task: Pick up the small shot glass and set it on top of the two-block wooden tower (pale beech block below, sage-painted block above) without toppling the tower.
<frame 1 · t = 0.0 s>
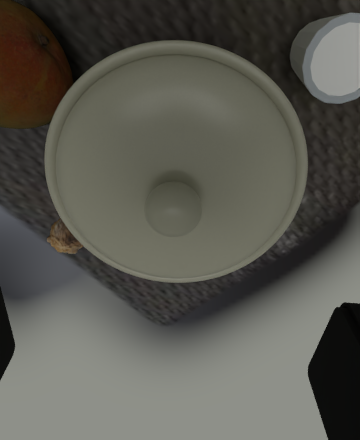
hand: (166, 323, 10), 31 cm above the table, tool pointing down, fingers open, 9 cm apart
shot glass: (317, 51, 34), on the table
fruit: (20, 64, 35), on the table
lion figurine: (121, 212, 45), on the table
canister: (180, 119, 38), on the table
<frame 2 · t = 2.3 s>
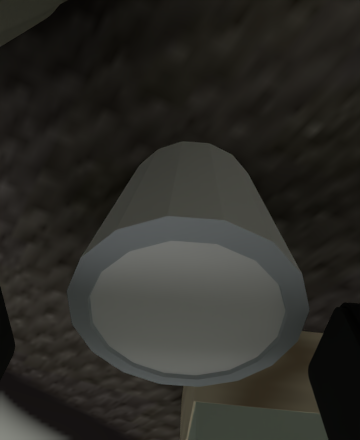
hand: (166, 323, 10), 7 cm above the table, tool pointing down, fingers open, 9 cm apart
shot glass: (190, 198, 16), on the table
tower base: (248, 365, 22), on the table, touching tower top
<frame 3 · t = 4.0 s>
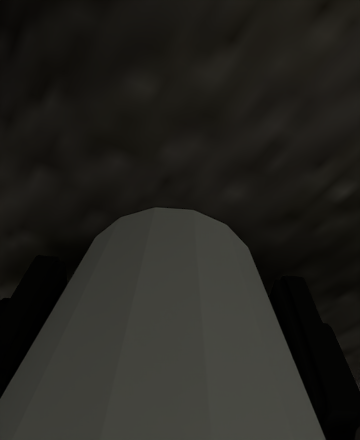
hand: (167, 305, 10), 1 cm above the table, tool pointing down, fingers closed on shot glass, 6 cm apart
shot glass: (169, 276, 11), on the table, touching gripper
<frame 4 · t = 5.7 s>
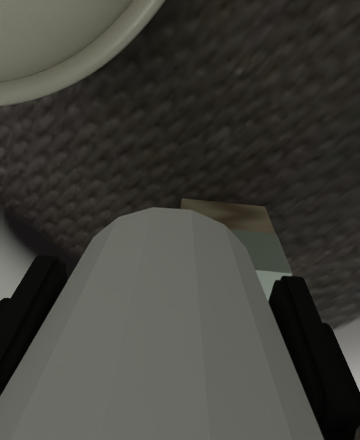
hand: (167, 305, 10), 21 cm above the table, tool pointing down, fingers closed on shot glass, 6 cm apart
shot glass: (167, 276, 12), point 20 cm above the table, touching gripper
tower base: (216, 235, 35), on the table, touching tower top
tower top: (221, 266, 31), point 5 cm above the table, touching tower base
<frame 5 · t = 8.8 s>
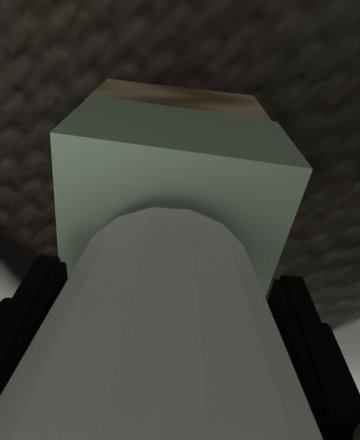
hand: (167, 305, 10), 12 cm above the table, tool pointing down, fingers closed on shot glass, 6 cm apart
shot glass: (166, 276, 12), point 11 cm above the table, touching gripper
tower base: (174, 154, 21), on the table, touching tower top
tower top: (173, 191, 17), point 5 cm above the table, touching tower base
when the fingers open (12 cm above the table, at t = 9.2 s): shot glass drops 1 cm, resting on tower top.
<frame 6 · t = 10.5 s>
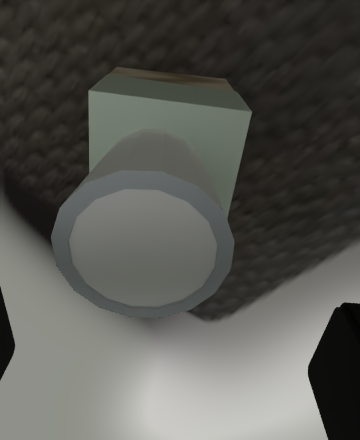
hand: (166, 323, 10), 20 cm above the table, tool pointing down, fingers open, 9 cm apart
shot glass: (154, 177, 19), point 10 cm above the table, touching tower top
tower base: (167, 126, 27), on the table, touching tower top
tower top: (166, 145, 23), point 5 cm above the table, touching shot glass, tower base
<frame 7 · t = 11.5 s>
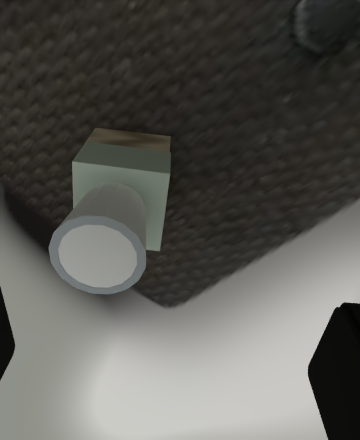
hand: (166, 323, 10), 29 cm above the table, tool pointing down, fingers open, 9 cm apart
shot glass: (114, 210, 30), point 10 cm above the table, touching tower top
tower base: (131, 166, 39), on the table, touching tower top
tower top: (126, 185, 34), point 5 cm above the table, touching shot glass, tower base
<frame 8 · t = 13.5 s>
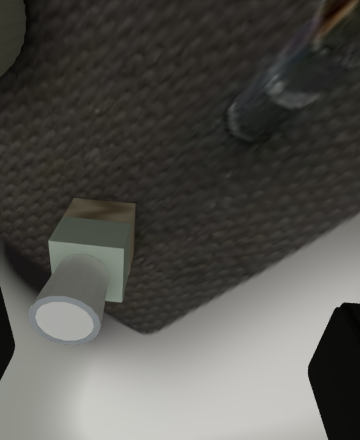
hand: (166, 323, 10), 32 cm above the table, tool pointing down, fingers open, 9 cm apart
shot glass: (84, 272, 39), point 10 cm above the table, touching tower top
tower base: (105, 225, 47), on the table, touching tower top
tower top: (97, 246, 43), point 5 cm above the table, touching shot glass, tower base
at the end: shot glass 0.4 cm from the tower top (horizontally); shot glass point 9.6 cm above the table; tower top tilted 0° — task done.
